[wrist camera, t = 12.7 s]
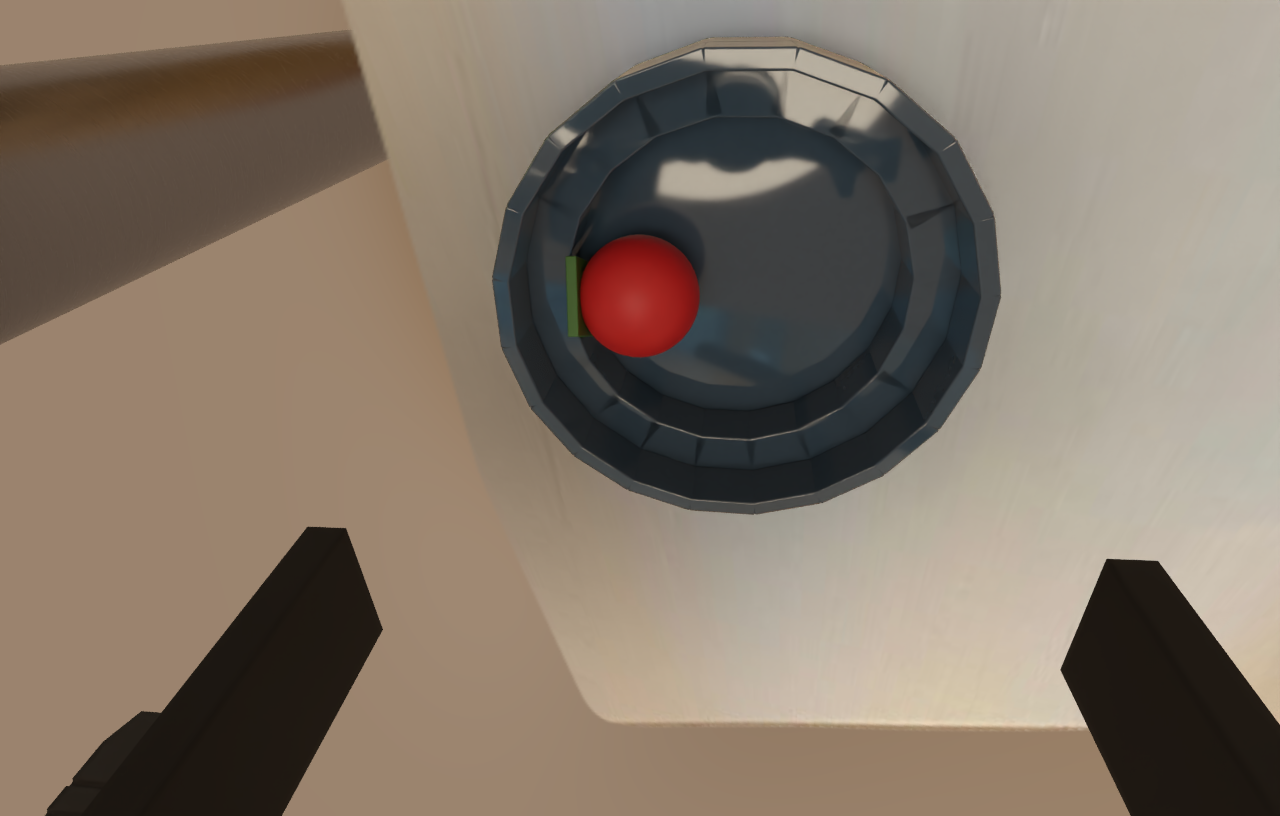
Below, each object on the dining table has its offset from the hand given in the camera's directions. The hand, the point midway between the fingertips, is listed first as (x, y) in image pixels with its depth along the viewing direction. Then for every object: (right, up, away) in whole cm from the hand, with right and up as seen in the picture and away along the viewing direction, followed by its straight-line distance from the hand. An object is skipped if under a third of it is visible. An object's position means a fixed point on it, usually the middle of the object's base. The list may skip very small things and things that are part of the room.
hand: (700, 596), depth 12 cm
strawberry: (+1, +7, +12) cm, 14 cm away
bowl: (+3, +9, +14) cm, 17 cm away
